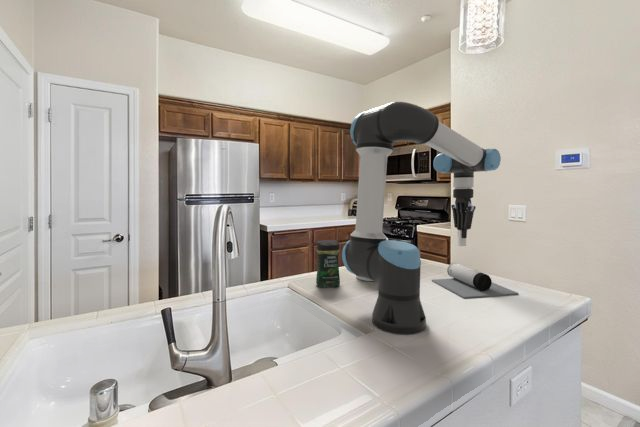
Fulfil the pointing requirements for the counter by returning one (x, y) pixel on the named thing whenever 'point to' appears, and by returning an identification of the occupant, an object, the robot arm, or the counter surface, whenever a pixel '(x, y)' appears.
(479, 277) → the travel mug
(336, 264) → the coffee jar
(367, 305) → the counter surface
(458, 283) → the mat
